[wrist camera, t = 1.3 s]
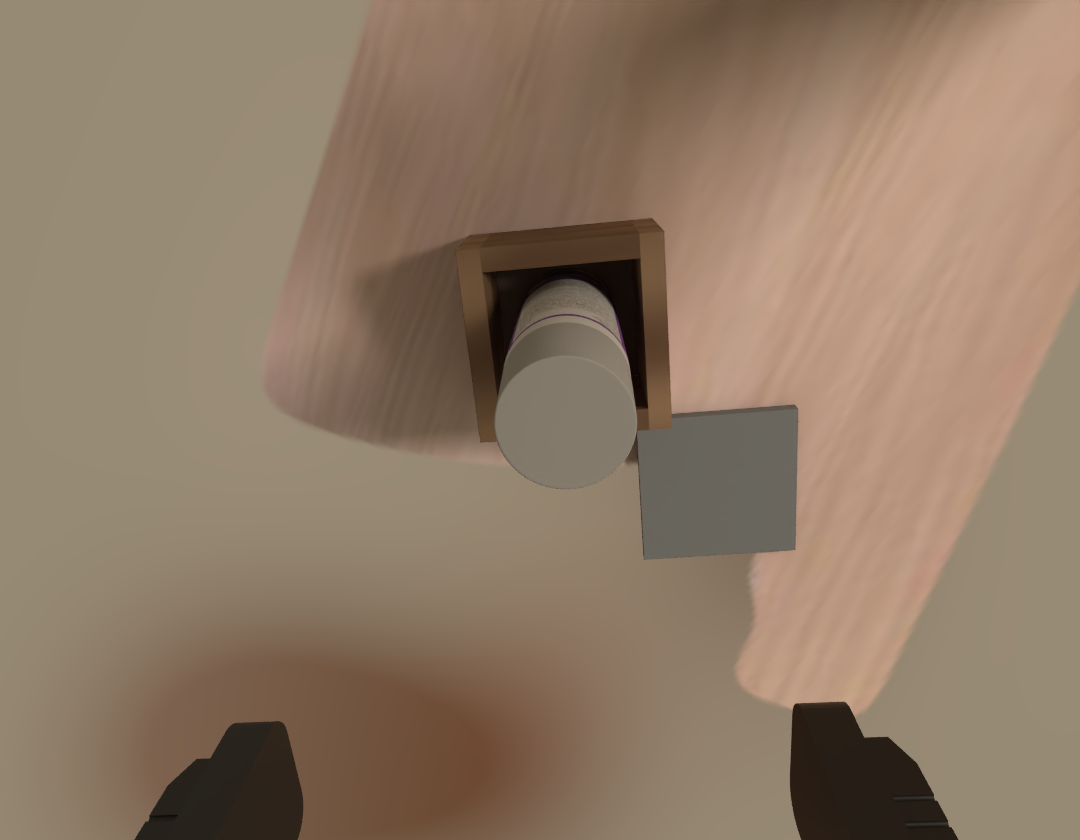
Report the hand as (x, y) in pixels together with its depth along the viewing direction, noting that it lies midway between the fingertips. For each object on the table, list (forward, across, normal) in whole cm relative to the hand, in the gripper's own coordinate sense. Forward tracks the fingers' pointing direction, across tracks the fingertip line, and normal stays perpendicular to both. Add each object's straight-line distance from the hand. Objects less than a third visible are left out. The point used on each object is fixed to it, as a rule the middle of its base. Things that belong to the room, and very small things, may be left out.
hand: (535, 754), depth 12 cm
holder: (+28, 0, -1) cm, 28 cm away
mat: (+28, -8, +9) cm, 30 cm away
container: (+28, 0, -1) cm, 28 cm away
